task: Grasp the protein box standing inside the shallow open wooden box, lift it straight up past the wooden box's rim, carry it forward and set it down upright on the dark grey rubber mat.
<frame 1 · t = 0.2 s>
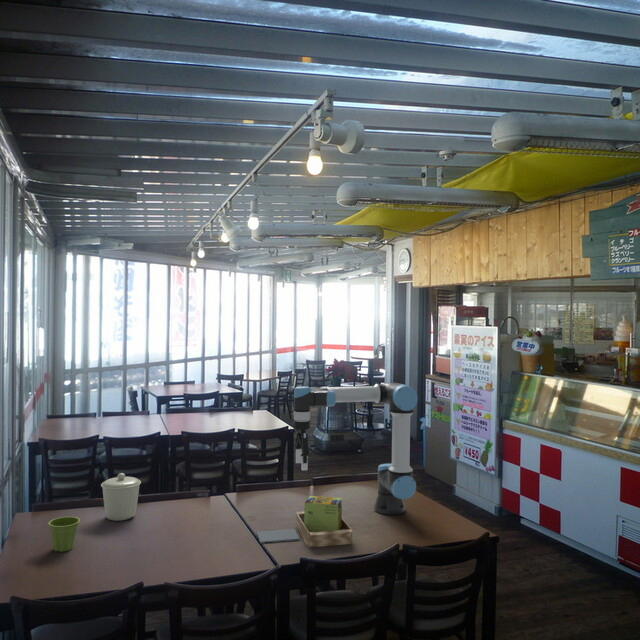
hand: (301, 466, 264), 28 cm above the table, fingers open, 13 cm apart
canister: (120, 517, 275), on the table
plant pot: (63, 549, 236), on the table
protein box: (323, 535, 254), resting in open wooden box
mat: (277, 536, 252), on the table
open wooden box: (323, 534, 254), on the table
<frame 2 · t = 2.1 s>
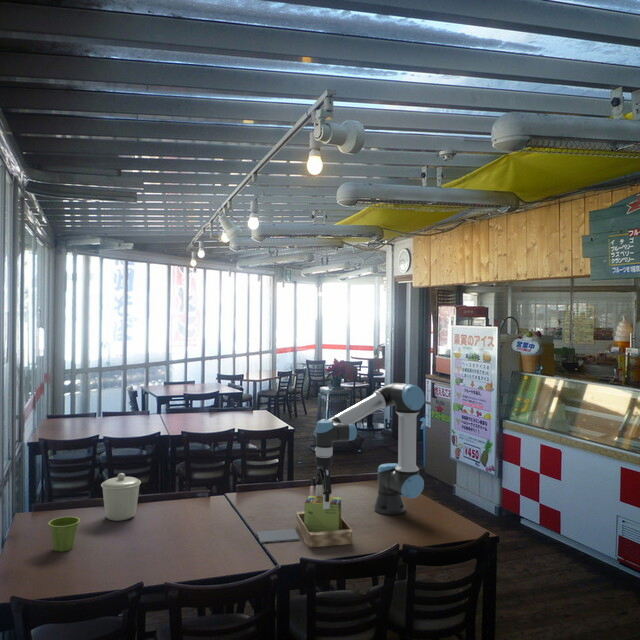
hand: (322, 504, 254), 14 cm above the table, fingers open, 13 cm apart
nothing on the table moved.
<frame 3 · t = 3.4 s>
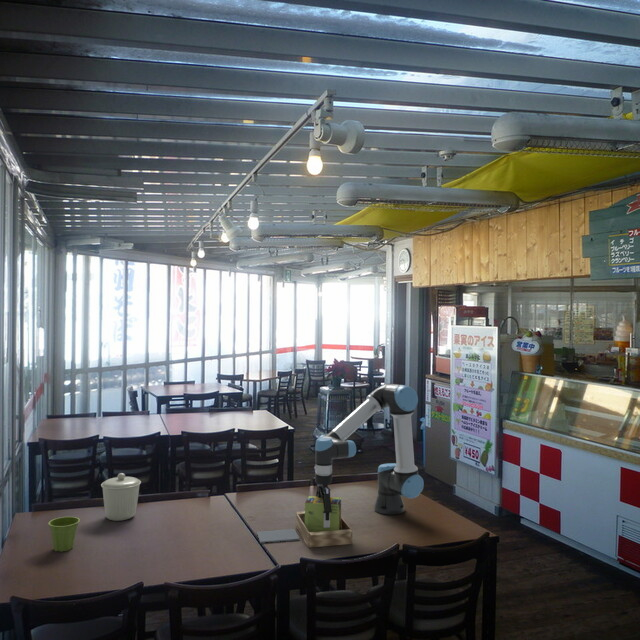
hand: (323, 522, 255), 6 cm above the table, fingers closed on protein box, 12 cm apart
protein box: (323, 535, 255), resting in open wooden box, touching gripper
everything else where it was.
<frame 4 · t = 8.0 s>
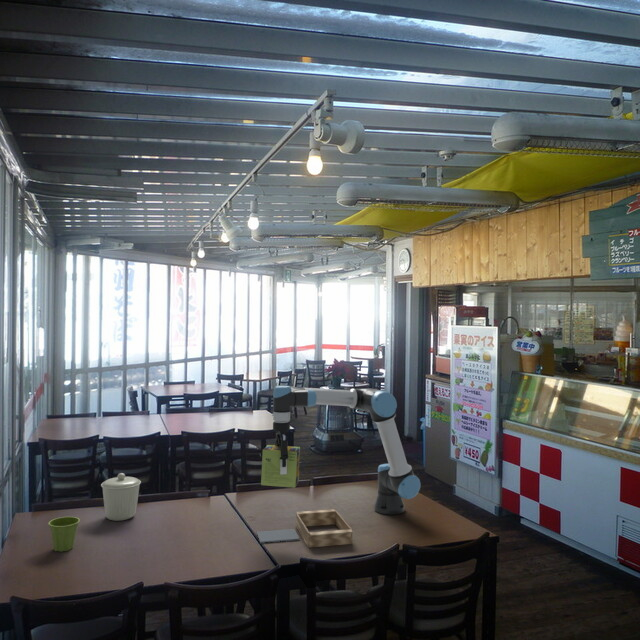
hand: (280, 470, 252), 29 cm above the table, fingers closed on protein box, 12 cm apart
protein box: (280, 483, 252), point 23 cm above the table, touching gripper
everything else where it was.
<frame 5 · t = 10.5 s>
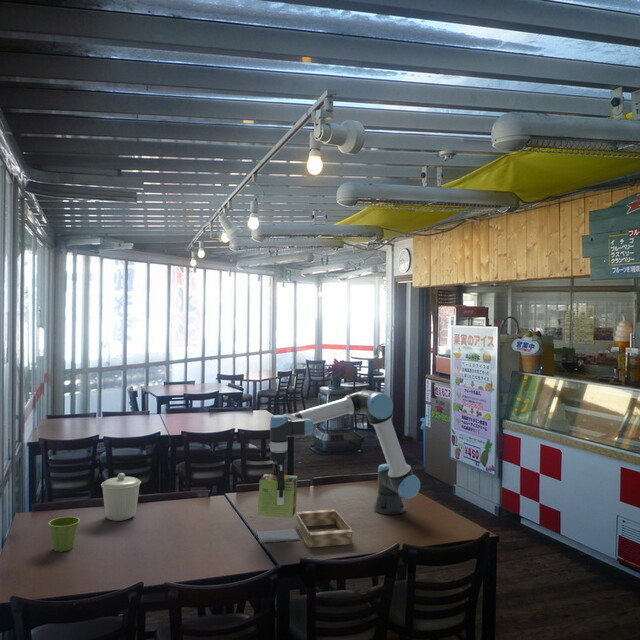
hand: (277, 500, 252), 16 cm above the table, fingers closed on protein box, 12 cm apart
protein box: (277, 513, 252), point 10 cm above the table, touching gripper
everything else where it was.
when the fingers open (7 cm above the table, at t = 12.9 s): protein box stays where it is, resting on mat.
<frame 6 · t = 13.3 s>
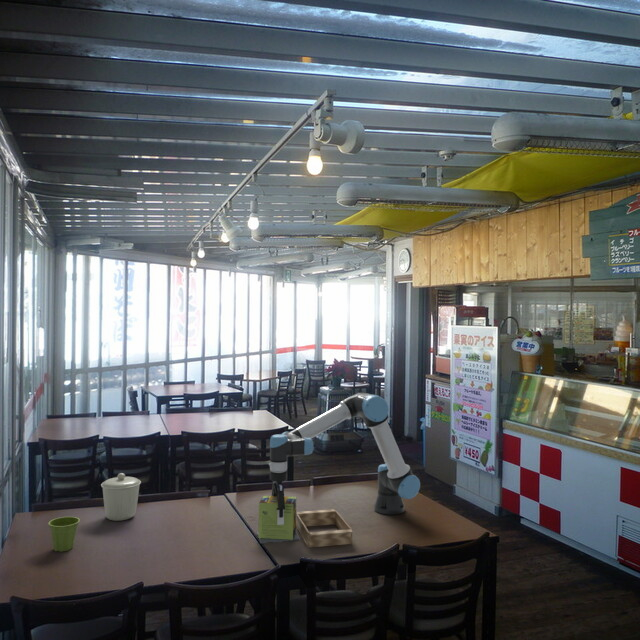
hand: (277, 519, 252), 8 cm above the table, fingers open, 13 cm apart
protein box: (277, 535, 252), point 1 cm above the table, touching mat
everything else where it was.
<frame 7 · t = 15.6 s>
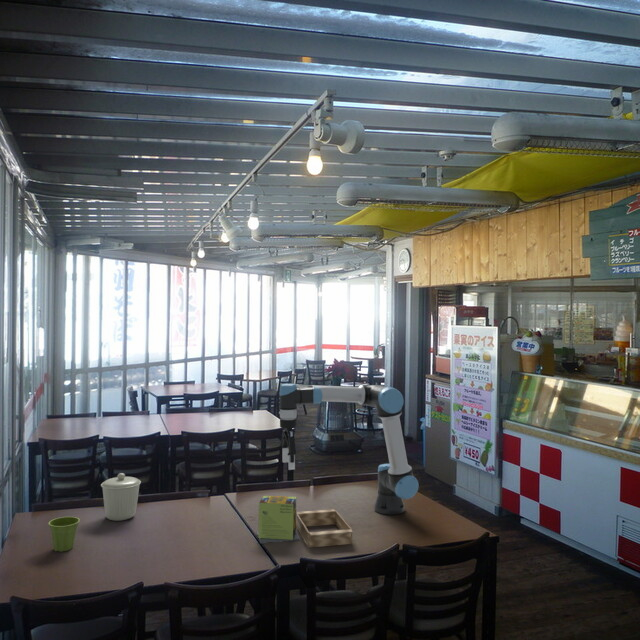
hand: (288, 465, 258), 30 cm above the table, fingers open, 13 cm apart
nothing on the table moved.
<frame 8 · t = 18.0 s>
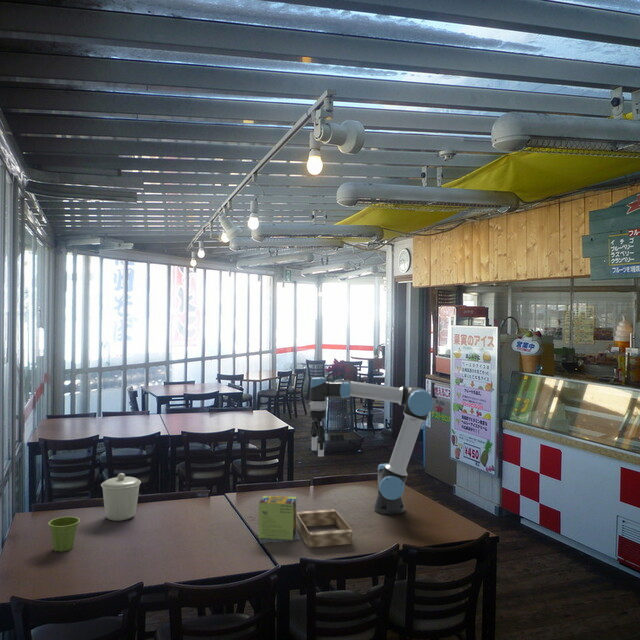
hand: (317, 453, 279), 31 cm above the table, fingers open, 13 cm apart
nothing on the table moved.
at the end: protein box inside the target area on the mat (0.2 cm from its centre), point 0.6 cm above the mat's base; protein box tilted 0°; the gripper is holding nothing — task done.
